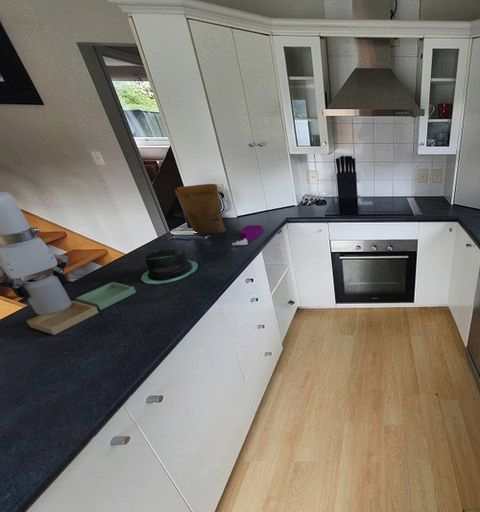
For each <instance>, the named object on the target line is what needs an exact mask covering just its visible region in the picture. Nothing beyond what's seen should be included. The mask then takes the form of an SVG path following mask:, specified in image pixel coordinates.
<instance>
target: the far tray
mask: <svg viewBox="0 0 480 512" xmlns="http://www.w3.org/2000/svg"><path fill="white" fill-rule="evenodd" d="M135 293H137V291H136V288H135V286H131V285H126V284H123V283H119V282H114V281H111V282H109V283H107V284H105V285H102V286H100V287H98V288H96V289H95V288H94V289H93V290H90V291H89V292H86V293H84V294H82V295H79V296H78V297H75V301H76V302H80V303H84V304H87V305H91V306H94V307H96V308H97V310H98V311H102V310H103V309H106V308H108V307H110V306H112V305H114V304H116V303H118V302H120V301H122V300H123V299H126V298H128V297H130V296H132V295H134V294H135Z"/></svg>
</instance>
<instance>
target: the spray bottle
mask: <svg viewBox="0 0 480 512" xmlns="http://www.w3.org/2000/svg"><path fill="white" fill-rule="evenodd" d="M263 229H264V227H263V226H262V225H261V224H259V225H258V224H251V225H250V224H249V225H246V226H244V228H242V229H241V231H239V236H240V237H242V238H241V240H236V241H235V242H233V243H231V245H232V246H247V245H249V243H248V242H250V241H252V240H254V239H256V238H258V236H260V235H261V234H262V232H263Z"/></svg>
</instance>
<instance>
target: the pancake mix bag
mask: <svg viewBox="0 0 480 512" xmlns="http://www.w3.org/2000/svg"><path fill="white" fill-rule="evenodd" d="M174 192H175V195H176V197H177V199H178V201H179V205H180V206H181V208H182V210H183V212H184V214H185V216H186V218H187V221H188V223H189V224H190V227H191V228H192V232H193V231H195V232H197V233H192V234H193V235H195V236H205V235H206V236H207V235H214V234H222V233H224V232H226V231H227V230H226V228H225V225H224V222H223V215H222V210H221V201H220V196H219V189H218V185H217V184H215V183H206V184H205V183H204V184H195V185H186V186H177V187H176V188H175V189H174Z"/></svg>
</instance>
